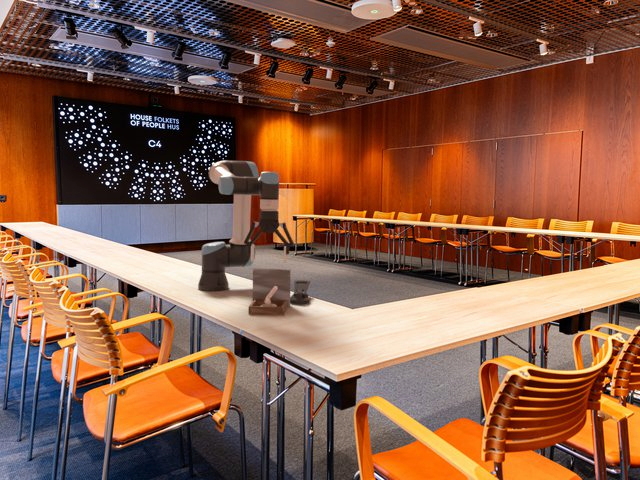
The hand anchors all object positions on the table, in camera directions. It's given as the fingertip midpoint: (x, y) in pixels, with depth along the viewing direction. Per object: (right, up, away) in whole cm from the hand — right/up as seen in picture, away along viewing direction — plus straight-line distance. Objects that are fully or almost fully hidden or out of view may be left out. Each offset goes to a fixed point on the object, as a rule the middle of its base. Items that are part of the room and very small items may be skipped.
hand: (268, 261), depth 197 cm
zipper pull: (+12, -19, +26) cm, 34 cm away
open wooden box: (0, -20, +3) cm, 20 cm away
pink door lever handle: (0, -20, +1) cm, 20 cm away
